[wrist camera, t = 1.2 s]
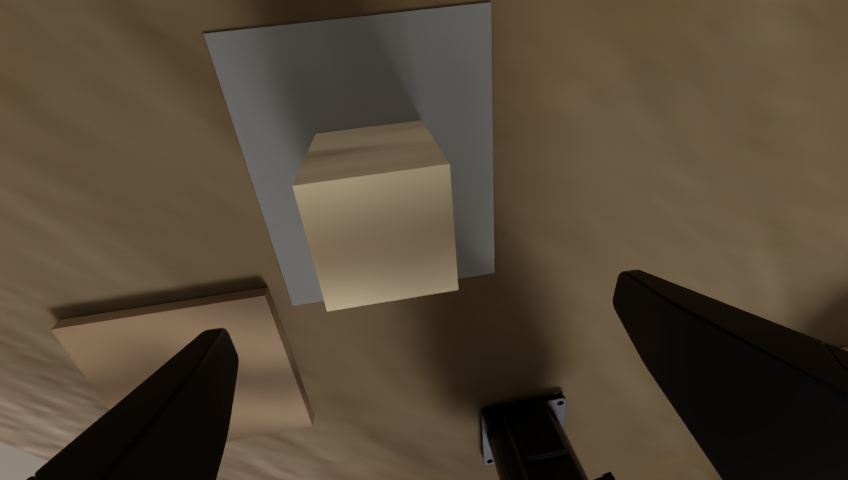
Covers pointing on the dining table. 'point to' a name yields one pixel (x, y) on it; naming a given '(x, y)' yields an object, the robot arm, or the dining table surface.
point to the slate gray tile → (363, 112)
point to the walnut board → (175, 328)
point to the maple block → (378, 214)
